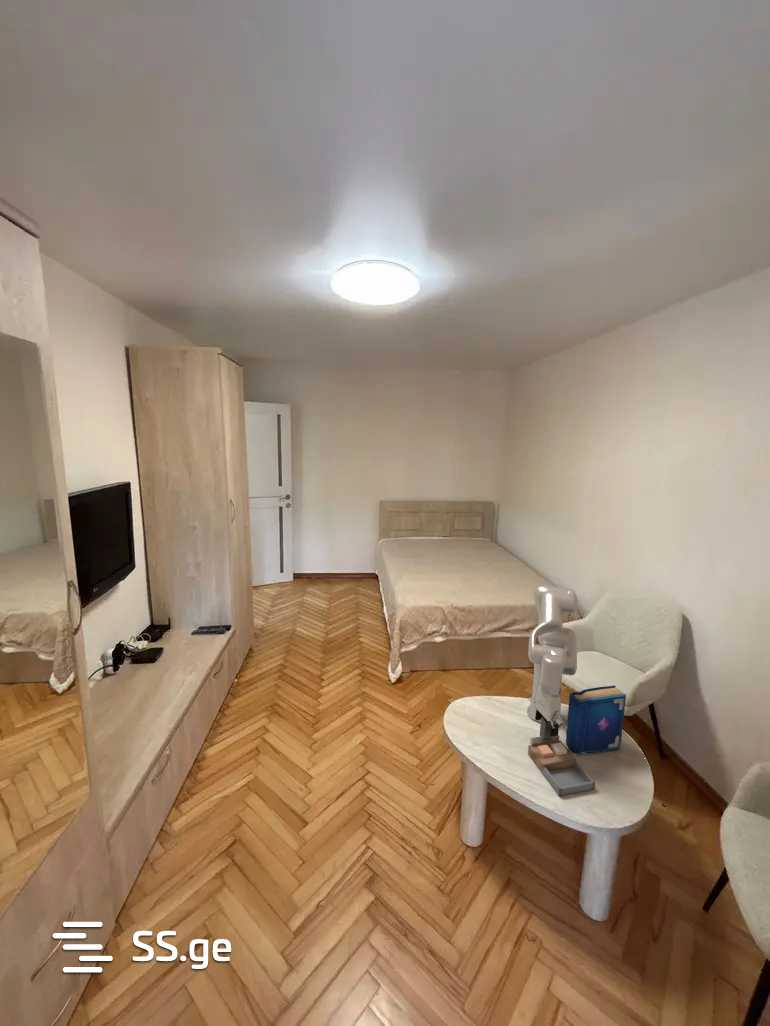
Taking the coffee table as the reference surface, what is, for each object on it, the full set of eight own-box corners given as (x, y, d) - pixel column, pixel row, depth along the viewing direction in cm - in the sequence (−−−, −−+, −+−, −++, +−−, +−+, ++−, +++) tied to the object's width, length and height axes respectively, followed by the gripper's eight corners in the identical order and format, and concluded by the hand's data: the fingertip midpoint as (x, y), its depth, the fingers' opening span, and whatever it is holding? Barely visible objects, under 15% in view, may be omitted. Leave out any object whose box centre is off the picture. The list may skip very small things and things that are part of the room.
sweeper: (528, 741, 166) (531, 718, 164) (555, 737, 168) (558, 714, 167) (533, 746, 163) (535, 723, 161) (560, 742, 166) (562, 719, 164)
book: (572, 758, 163) (579, 700, 159) (561, 745, 170) (567, 689, 166) (620, 750, 168) (628, 694, 163) (608, 738, 174) (615, 683, 170)
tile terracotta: (537, 749, 162) (537, 746, 162) (546, 748, 163) (546, 744, 163) (543, 757, 158) (543, 753, 158) (552, 755, 159) (553, 752, 159)
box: (542, 774, 155) (543, 767, 155) (575, 768, 158) (576, 761, 158) (559, 796, 146) (559, 789, 145) (594, 789, 149) (595, 782, 148)
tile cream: (551, 747, 163) (551, 744, 163) (560, 745, 164) (560, 742, 164) (557, 755, 159) (557, 751, 159) (566, 753, 160) (567, 750, 160)
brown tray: (527, 754, 165) (528, 745, 164) (559, 749, 168) (560, 740, 167) (542, 774, 155) (543, 764, 155) (575, 768, 158) (576, 759, 158)
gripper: (529, 675, 169) (525, 714, 171) (555, 701, 152) (551, 744, 155) (545, 674, 170) (542, 712, 173) (573, 699, 154) (568, 741, 156)
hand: (546, 727), depth 164 cm, fingers open, 9 cm apart
